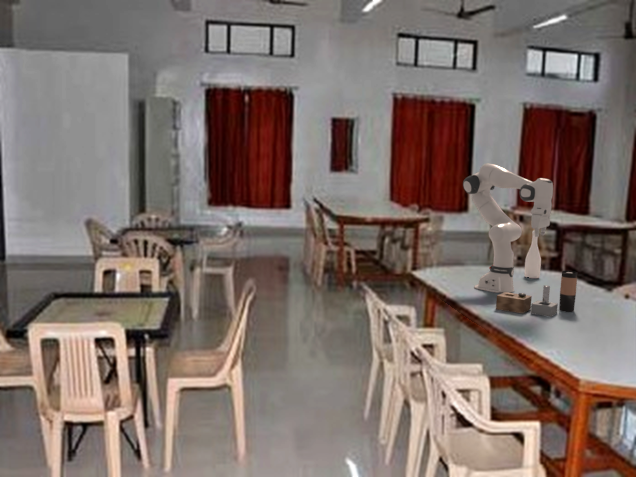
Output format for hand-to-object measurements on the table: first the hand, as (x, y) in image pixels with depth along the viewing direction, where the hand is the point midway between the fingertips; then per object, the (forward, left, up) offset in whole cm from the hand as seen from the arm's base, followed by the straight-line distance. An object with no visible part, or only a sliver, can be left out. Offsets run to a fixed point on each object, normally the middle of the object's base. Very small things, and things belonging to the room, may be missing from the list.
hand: (539, 236), depth 371 cm
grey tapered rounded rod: (+11, -19, -36) cm, 42 cm away
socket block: (-4, -21, -36) cm, 42 cm away
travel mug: (+18, -4, -37) cm, 41 cm away
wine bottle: (-26, +77, -37) cm, 89 cm away
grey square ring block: (+11, -19, -36) cm, 42 cm away
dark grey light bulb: (0, -21, -36) cm, 41 cm away
